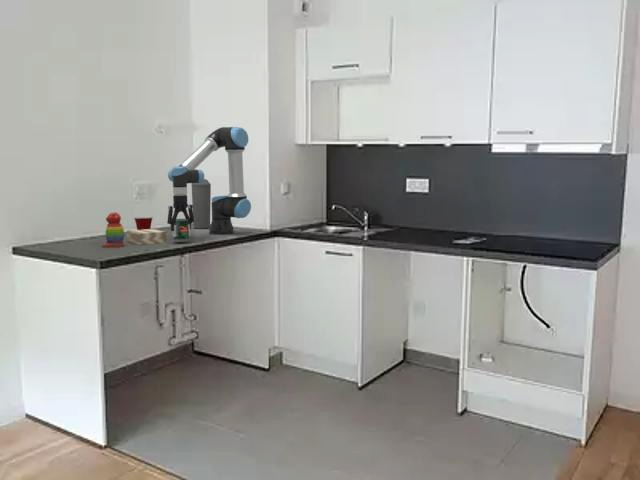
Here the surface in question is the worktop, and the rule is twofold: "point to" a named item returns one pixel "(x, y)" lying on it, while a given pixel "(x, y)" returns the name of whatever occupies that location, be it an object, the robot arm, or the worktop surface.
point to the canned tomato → (181, 229)
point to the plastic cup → (143, 222)
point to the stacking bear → (114, 231)
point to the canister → (201, 204)
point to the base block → (146, 236)
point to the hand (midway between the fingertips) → (181, 235)
